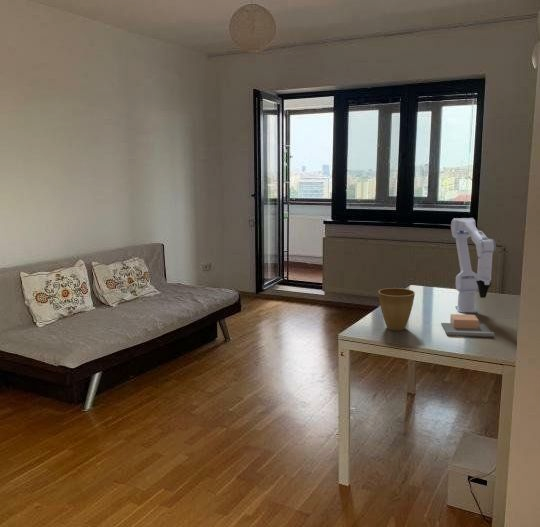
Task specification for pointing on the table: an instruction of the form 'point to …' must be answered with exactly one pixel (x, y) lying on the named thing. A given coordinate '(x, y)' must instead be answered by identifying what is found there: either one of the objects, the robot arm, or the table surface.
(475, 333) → the mat
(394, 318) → the plant pot
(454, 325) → the terracotta block
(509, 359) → the table surface
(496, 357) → the table surface
